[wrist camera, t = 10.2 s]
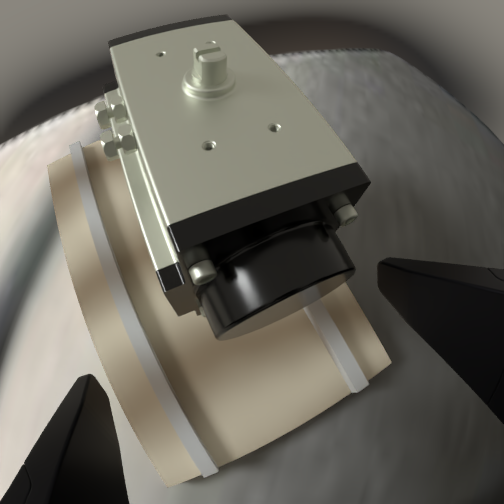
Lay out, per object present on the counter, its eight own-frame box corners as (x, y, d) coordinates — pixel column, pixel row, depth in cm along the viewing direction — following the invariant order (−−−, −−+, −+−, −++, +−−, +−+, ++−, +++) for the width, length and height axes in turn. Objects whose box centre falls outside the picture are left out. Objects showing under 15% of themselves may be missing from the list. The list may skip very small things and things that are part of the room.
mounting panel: (382, 364, 17) (398, 361, 15) (170, 481, 13) (165, 492, 12) (218, 107, 24) (219, 89, 22) (53, 174, 20) (43, 159, 18)
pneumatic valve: (212, 155, 20) (216, -19, 9) (296, 322, 17) (432, 208, 6) (131, 183, 19) (78, 12, 8) (199, 365, 15) (147, 334, 4)
